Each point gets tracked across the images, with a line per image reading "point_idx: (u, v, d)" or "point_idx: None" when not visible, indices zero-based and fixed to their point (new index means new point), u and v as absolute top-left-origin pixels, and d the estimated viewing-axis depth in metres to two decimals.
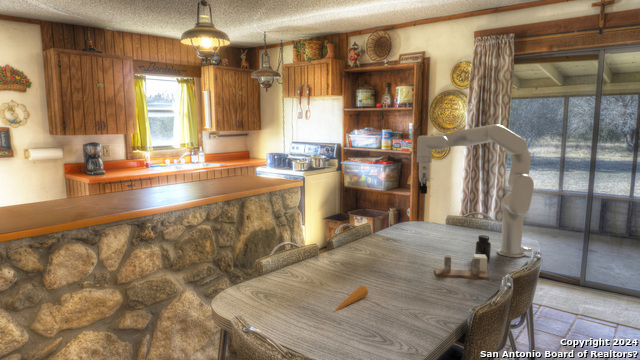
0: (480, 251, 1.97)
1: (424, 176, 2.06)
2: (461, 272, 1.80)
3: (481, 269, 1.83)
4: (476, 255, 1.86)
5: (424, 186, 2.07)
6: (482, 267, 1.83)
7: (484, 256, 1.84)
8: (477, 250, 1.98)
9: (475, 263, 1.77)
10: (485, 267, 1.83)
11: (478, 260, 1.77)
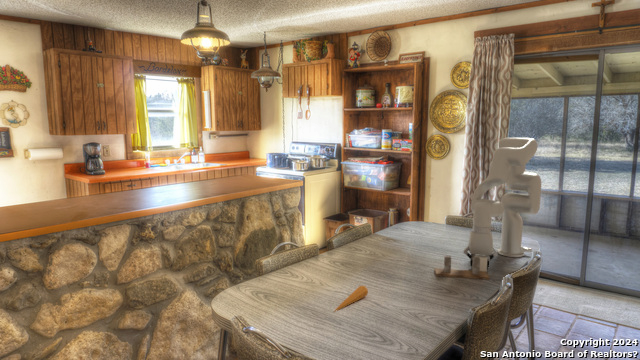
0: None
1: None
2: (461, 272, 1.80)
3: (481, 269, 1.83)
4: (476, 255, 1.86)
5: None
6: (482, 267, 1.83)
7: (484, 256, 1.84)
8: None
9: (475, 263, 1.77)
10: (485, 267, 1.83)
11: (478, 260, 1.77)
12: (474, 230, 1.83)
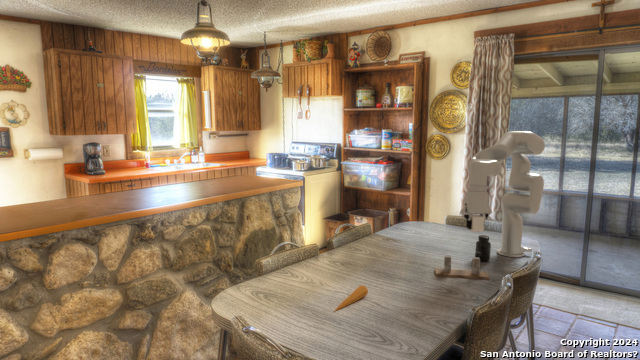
0: (480, 251, 1.97)
1: None
2: (461, 272, 1.80)
3: (479, 229, 1.80)
4: (472, 215, 1.82)
5: None
6: (480, 226, 1.80)
7: (480, 215, 1.81)
8: (477, 250, 1.98)
9: (475, 263, 1.77)
10: (482, 226, 1.80)
11: (478, 260, 1.77)
12: (472, 189, 1.78)
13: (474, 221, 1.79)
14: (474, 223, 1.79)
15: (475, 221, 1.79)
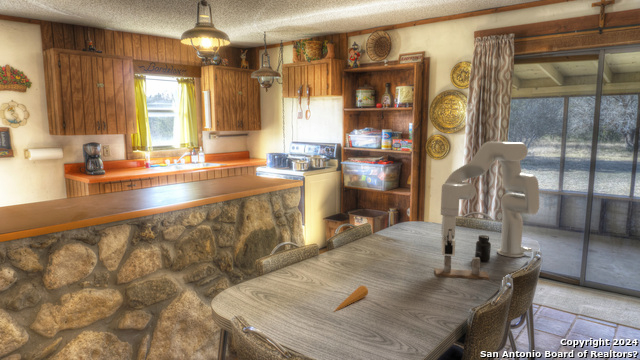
0: (480, 251, 1.97)
1: None
2: (461, 272, 1.80)
3: None
4: (447, 239, 1.78)
5: None
6: None
7: None
8: (477, 250, 1.98)
9: (475, 263, 1.77)
10: None
11: (478, 260, 1.77)
12: (454, 213, 1.74)
13: None
14: (454, 246, 1.77)
15: (454, 244, 1.77)
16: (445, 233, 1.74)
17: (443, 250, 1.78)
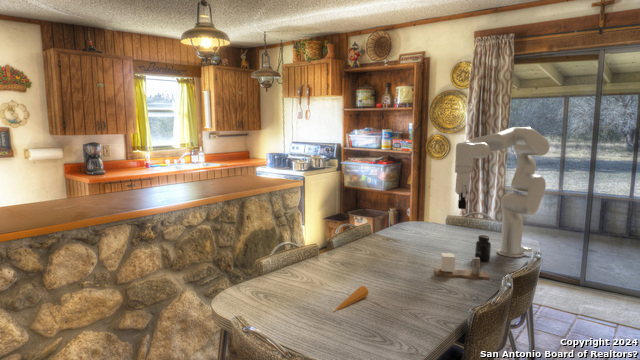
0: (480, 251, 1.97)
1: None
2: (461, 272, 1.80)
3: None
4: (447, 256, 1.79)
5: None
6: None
7: (448, 253, 1.82)
8: (477, 250, 1.98)
9: (475, 263, 1.77)
10: None
11: (478, 260, 1.77)
12: (468, 170, 1.84)
13: (454, 261, 1.78)
14: (454, 263, 1.78)
15: (454, 260, 1.78)
16: (460, 189, 1.84)
17: (443, 266, 1.79)
